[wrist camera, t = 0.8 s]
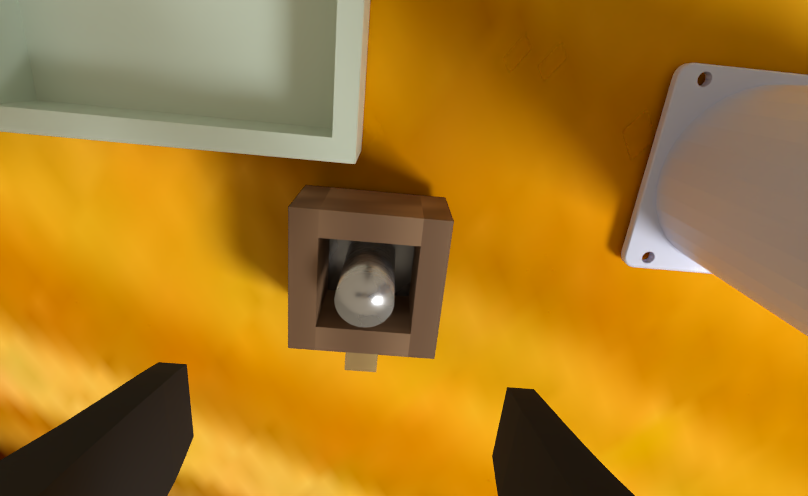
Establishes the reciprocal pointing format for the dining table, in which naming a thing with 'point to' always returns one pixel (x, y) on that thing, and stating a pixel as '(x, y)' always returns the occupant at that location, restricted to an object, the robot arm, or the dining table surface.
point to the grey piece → (368, 279)
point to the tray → (189, 73)
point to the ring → (368, 222)
